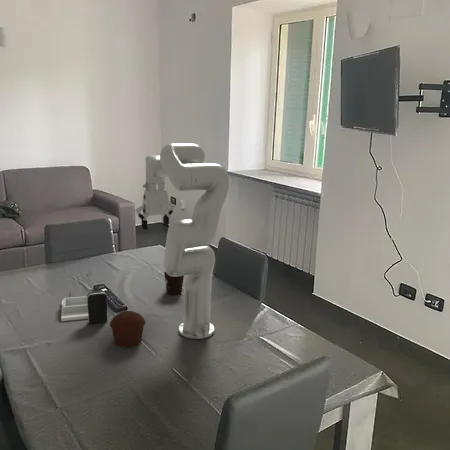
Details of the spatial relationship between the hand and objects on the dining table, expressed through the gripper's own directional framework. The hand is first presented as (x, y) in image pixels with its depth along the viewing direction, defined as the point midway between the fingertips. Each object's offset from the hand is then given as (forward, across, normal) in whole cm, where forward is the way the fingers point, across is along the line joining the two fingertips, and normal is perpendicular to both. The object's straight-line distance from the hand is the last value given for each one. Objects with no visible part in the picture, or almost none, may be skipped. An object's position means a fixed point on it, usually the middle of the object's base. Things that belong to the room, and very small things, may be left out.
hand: (155, 227), depth 188 cm
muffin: (+29, -28, -32) cm, 51 cm away
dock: (+28, -31, +4) cm, 42 cm away
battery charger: (+28, -31, -13) cm, 44 cm away
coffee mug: (+28, +7, -3) cm, 29 cm away
